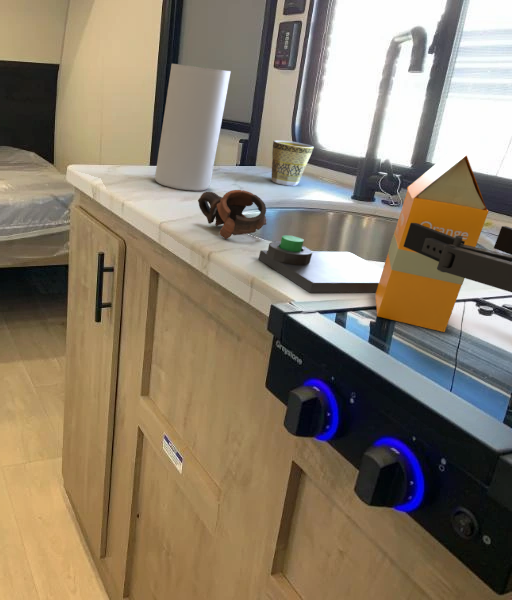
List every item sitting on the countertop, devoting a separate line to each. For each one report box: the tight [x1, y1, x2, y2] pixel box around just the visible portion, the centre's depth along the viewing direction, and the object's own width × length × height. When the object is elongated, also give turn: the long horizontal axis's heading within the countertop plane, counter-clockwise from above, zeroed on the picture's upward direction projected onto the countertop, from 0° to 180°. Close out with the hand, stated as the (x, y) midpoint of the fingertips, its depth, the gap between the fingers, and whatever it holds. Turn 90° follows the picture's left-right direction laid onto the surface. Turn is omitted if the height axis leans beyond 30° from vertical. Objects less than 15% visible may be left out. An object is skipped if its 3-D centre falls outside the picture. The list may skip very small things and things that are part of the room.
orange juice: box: [374, 146, 489, 333], centre depth 71 cm, size 8×9×20 cm
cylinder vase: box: [154, 63, 232, 192], centre depth 131 cm, size 12×12×25 cm
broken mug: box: [197, 189, 267, 240], centre depth 100 cm, size 12×10×8 cm
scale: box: [258, 240, 383, 294], centre depth 85 cm, size 16×13×3 cm
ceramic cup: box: [270, 139, 314, 187], centre depth 155 cm, size 13×10×10 cm
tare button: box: [280, 235, 305, 252], centre depth 85 cm, size 3×3×2 cm
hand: (455, 235), depth 68 cm, fingers open, 13 cm apart
